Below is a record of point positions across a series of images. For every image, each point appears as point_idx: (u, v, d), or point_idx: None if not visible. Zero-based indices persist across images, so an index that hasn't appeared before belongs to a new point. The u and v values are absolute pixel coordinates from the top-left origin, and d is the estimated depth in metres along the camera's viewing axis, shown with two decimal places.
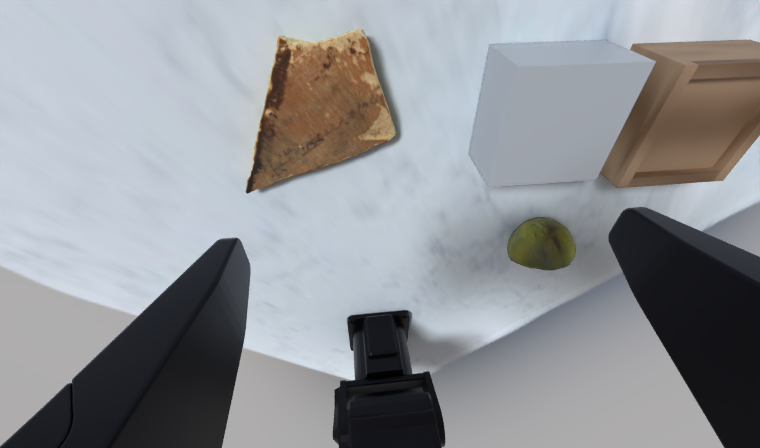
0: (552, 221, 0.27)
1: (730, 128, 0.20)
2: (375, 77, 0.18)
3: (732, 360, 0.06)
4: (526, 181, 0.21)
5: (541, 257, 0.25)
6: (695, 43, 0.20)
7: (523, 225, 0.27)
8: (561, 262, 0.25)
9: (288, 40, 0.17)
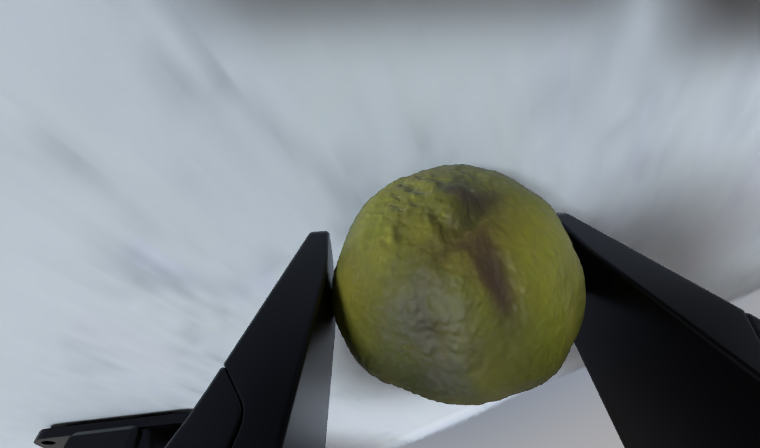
0: (487, 174, 0.06)
1: None
2: None
3: (632, 371, 0.06)
4: None
5: (416, 345, 0.05)
6: None
7: (376, 194, 0.07)
8: (516, 372, 0.05)
9: None
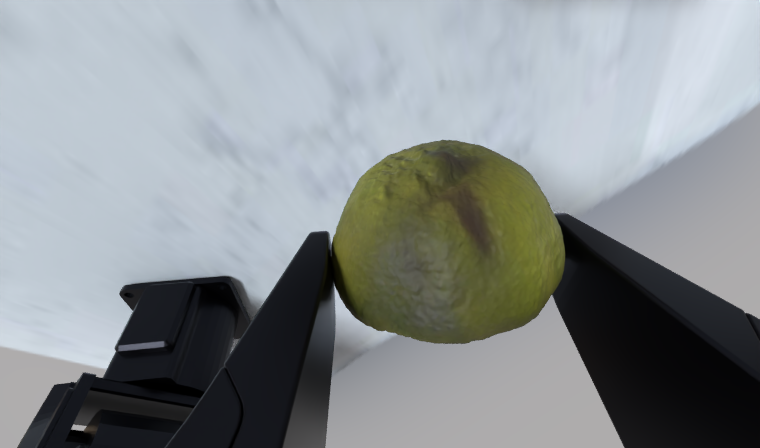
0: (471, 146, 0.07)
1: None
2: None
3: (632, 371, 0.06)
4: None
5: (405, 286, 0.06)
6: None
7: None
8: (497, 308, 0.05)
9: None
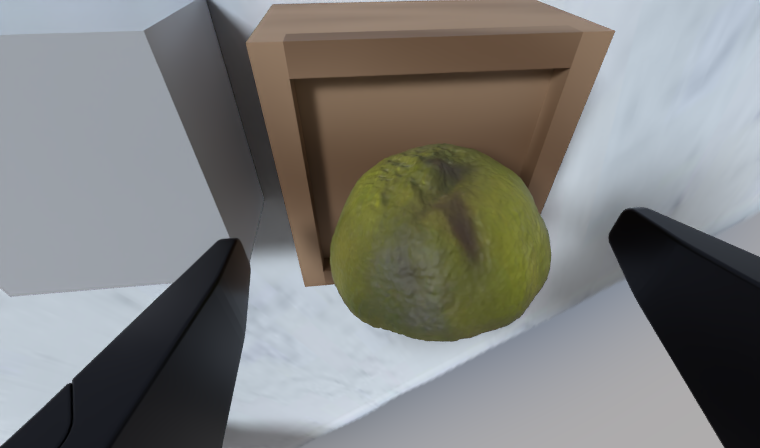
0: (465, 151, 0.07)
1: None
2: None
3: (732, 360, 0.06)
4: (86, 283, 0.10)
5: (399, 289, 0.06)
6: (404, 3, 0.09)
7: (368, 170, 0.08)
8: (484, 311, 0.06)
9: None
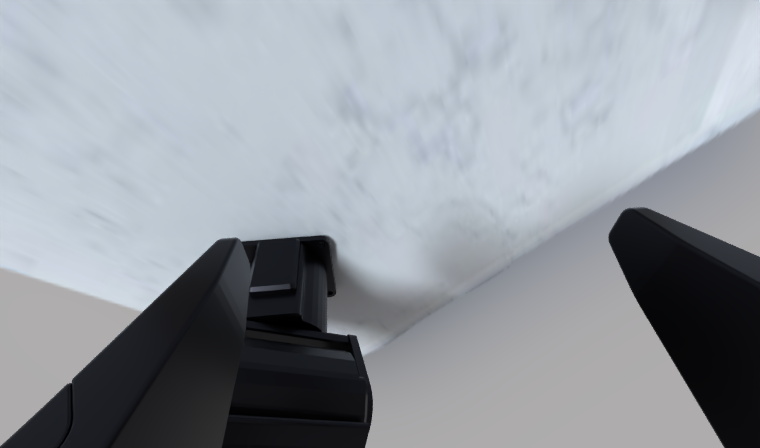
0: None
1: None
2: None
3: (732, 360, 0.06)
4: None
5: None
6: None
7: None
8: None
9: None
